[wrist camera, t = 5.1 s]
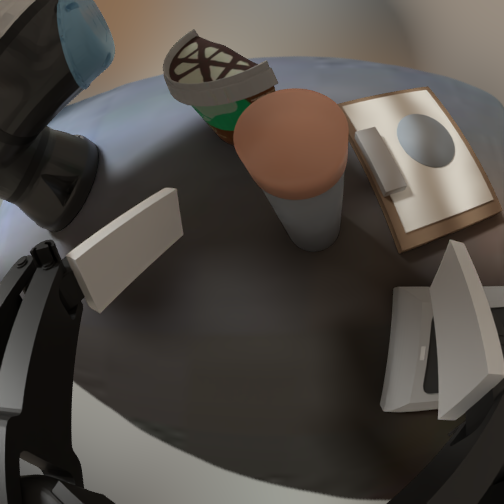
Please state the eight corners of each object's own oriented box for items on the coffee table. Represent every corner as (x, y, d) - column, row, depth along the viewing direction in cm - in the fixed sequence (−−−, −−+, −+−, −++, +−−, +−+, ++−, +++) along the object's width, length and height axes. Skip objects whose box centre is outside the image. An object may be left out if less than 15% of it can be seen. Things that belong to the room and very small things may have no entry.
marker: (295, 260, 22) (248, 196, 10) (279, 209, 23) (223, 110, 11) (348, 242, 21) (369, 156, 9) (330, 192, 22) (320, 78, 10)
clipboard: (398, 254, 19) (406, 247, 17) (333, 113, 23) (331, 98, 21) (496, 214, 17) (508, 206, 15) (426, 93, 21) (430, 79, 19)
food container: (186, 119, 29) (140, 64, 19) (226, 88, 28) (191, 28, 19) (245, 181, 25) (197, 115, 15) (295, 141, 24) (271, 63, 15)
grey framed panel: (530, 392, 10) (387, 418, 14) (510, 385, 13) (379, 402, 18) (542, 283, 12) (403, 284, 16) (521, 287, 15) (392, 288, 19)
